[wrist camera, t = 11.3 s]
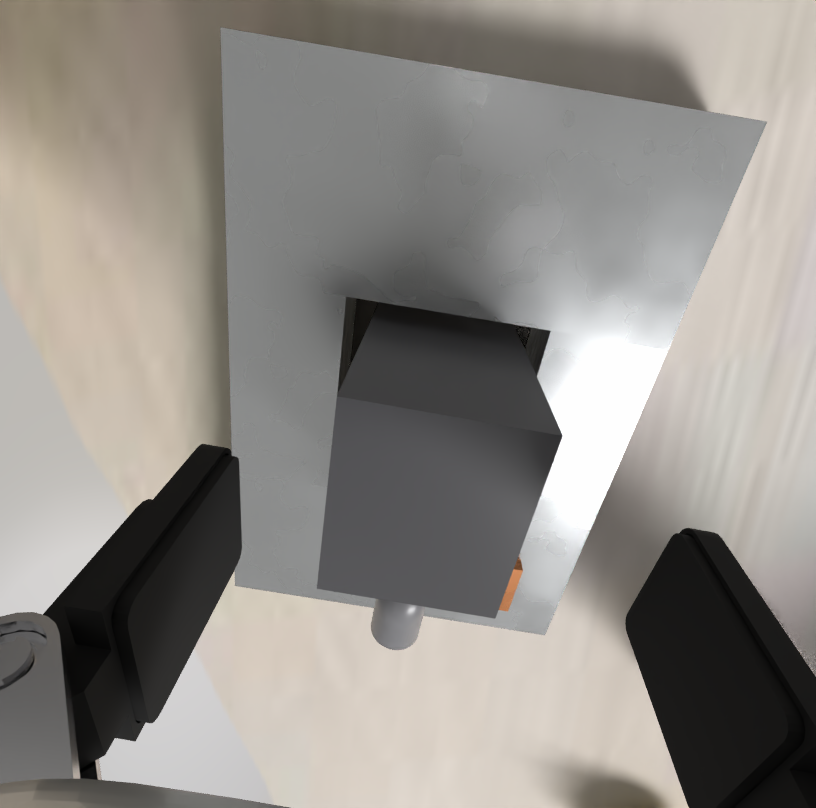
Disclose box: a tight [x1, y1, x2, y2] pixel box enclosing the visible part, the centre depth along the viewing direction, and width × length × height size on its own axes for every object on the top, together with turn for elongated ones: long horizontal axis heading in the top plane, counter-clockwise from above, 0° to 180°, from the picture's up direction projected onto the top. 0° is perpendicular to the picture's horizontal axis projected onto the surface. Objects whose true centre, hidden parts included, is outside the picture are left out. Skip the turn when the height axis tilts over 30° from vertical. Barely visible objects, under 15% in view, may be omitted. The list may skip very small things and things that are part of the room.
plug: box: [317, 302, 563, 650], centre depth 16 cm, size 9×5×8 cm, turn 171°
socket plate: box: [220, 27, 767, 635], centre depth 17 cm, size 20×14×3 cm
